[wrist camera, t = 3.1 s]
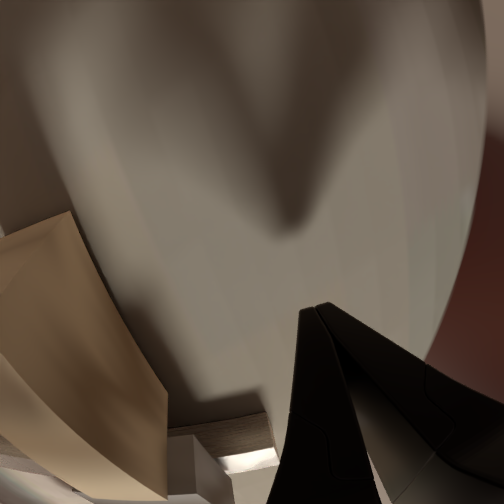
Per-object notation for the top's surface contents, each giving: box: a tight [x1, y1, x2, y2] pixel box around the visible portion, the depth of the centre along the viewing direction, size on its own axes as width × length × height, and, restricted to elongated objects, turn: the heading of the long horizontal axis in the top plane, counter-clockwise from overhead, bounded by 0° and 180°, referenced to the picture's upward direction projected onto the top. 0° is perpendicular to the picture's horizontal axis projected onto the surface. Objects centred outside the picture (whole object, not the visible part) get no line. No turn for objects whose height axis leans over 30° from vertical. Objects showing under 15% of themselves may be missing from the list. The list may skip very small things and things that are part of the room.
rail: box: [0, 412, 280, 477], centre depth 13 cm, size 2×31×2 cm, turn 101°
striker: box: [0, 211, 235, 504], centre depth 9 cm, size 14×5×5 cm, turn 11°
